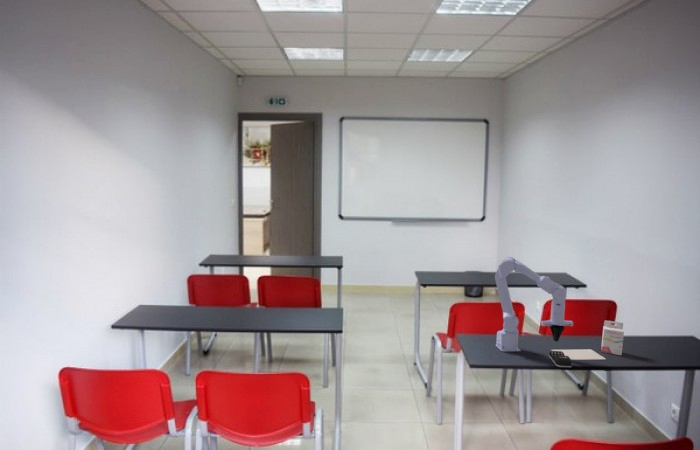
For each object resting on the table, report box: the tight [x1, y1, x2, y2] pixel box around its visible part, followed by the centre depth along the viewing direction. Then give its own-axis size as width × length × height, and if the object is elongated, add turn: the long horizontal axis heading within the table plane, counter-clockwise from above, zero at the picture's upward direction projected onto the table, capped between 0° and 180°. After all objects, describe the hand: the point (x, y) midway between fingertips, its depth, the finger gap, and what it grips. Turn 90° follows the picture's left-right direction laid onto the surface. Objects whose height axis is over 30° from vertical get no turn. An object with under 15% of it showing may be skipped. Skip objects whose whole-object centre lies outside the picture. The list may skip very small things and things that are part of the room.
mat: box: [550, 348, 607, 361], centre depth 226 cm, size 20×12×1 cm, turn 95°
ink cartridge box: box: [600, 319, 625, 356], centre depth 230 cm, size 9×5×15 cm, turn 65°
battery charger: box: [548, 350, 573, 369], centre depth 216 cm, size 7×4×11 cm
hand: (555, 340), depth 224 cm, fingers closed
